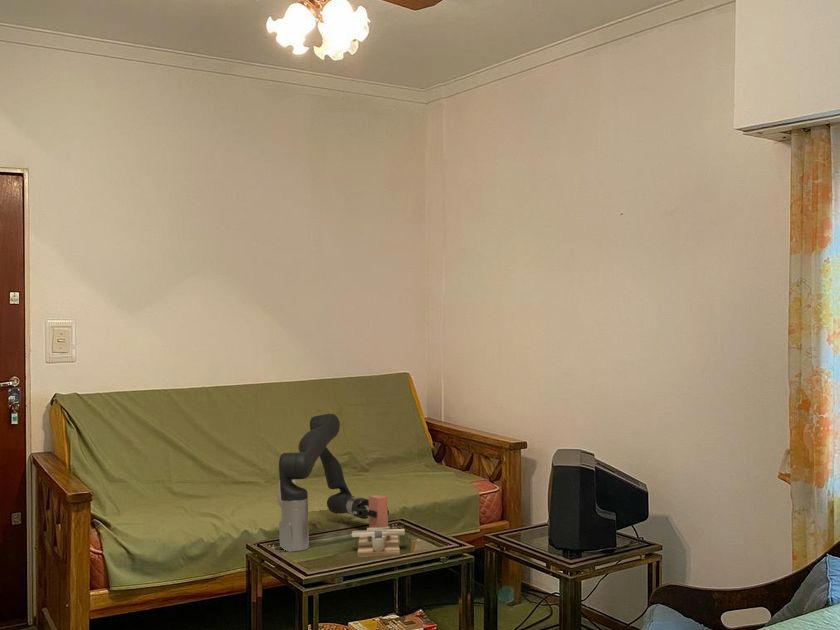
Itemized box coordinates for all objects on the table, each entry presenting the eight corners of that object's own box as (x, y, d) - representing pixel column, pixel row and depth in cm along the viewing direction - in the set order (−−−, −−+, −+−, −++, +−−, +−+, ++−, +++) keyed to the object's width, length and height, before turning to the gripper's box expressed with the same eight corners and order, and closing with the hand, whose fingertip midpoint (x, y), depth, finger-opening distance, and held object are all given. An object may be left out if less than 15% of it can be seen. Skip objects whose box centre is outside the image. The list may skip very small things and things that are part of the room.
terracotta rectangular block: (388, 535, 313) (387, 497, 313) (378, 537, 310) (377, 498, 311) (378, 532, 318) (377, 494, 319) (369, 533, 316) (368, 496, 317)
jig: (405, 555, 282) (405, 534, 282) (351, 557, 281) (350, 536, 281) (403, 536, 310) (403, 517, 310) (354, 538, 309) (353, 519, 309)
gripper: (342, 499, 323) (364, 506, 309) (375, 495, 331) (398, 501, 316) (343, 519, 323) (365, 526, 308) (376, 514, 331) (398, 521, 316)
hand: (381, 513), depth 313 cm, fingers open, 4 cm apart
